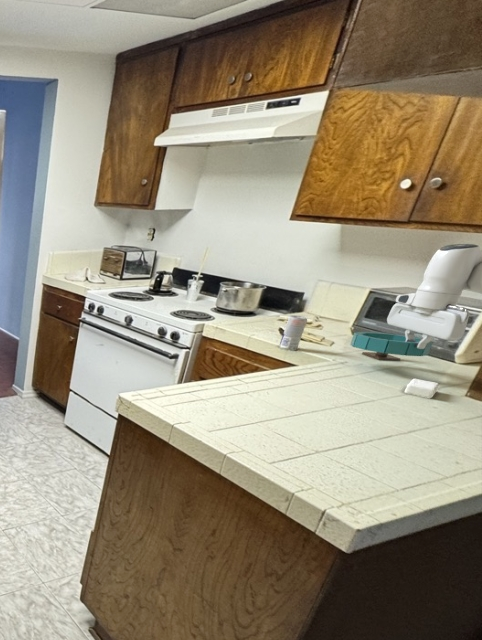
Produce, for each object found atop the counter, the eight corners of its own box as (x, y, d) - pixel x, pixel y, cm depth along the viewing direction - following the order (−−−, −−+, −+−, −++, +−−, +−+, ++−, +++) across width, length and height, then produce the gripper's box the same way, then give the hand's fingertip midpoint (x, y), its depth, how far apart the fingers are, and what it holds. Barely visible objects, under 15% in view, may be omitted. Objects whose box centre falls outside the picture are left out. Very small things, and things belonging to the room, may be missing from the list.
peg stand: (382, 355, 169) (389, 337, 166) (399, 361, 162) (407, 343, 160) (361, 354, 169) (368, 337, 167) (378, 360, 163) (386, 342, 160)
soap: (430, 399, 129) (435, 389, 128) (403, 393, 133) (407, 383, 132) (435, 392, 134) (440, 383, 133) (409, 387, 138) (413, 377, 137)
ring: (391, 344, 159) (395, 333, 157) (444, 357, 142) (449, 344, 141) (337, 342, 160) (340, 331, 158) (383, 354, 143) (387, 341, 142)
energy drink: (290, 346, 177) (301, 315, 173) (300, 350, 172) (311, 318, 168) (275, 346, 178) (285, 315, 173) (284, 350, 173) (295, 318, 168)
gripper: (483, 309, 128) (460, 357, 133) (413, 295, 147) (395, 338, 152) (459, 308, 128) (436, 356, 133) (392, 295, 147) (374, 337, 152)
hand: (413, 346), depth 143 cm, fingers closed on ring, 2 cm apart
